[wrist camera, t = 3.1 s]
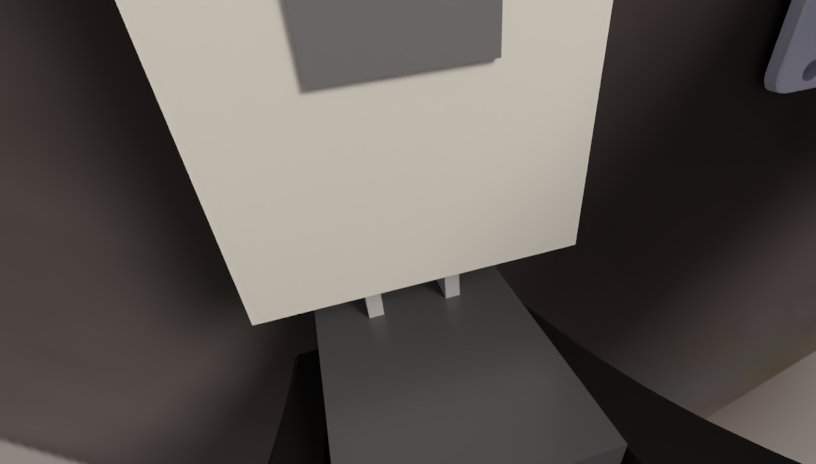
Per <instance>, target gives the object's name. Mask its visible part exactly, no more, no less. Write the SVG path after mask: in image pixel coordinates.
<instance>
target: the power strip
mask: <svg viewBox="0 0 816 464" xmlns="http://www.w3.org/2000/svg"><path fill="white" fill-rule="evenodd" d="M115 2H116V4H117V7H118V9H119V11H120V14H121V16H122V18H123V21H124V23H125V25H126V28H127V30H128V33H129V35H130V37H131V40H132V42H133V44H134V47H135V49H136V51H137V54H138V56H139V59H140V61H141V63H142V66H143V68H144V70H145V73H146V75H147V77H148V80H149V82H150V85H151V87H152V89H153V92H154V94H155V96H156V99H157V101H158V103H159V106H160V108H161V111H162V113H163V115H164V118H165V120H166V122H167V125H168V127H169V129H170V132H171V134H172V137H173V139H174V141H175V144H176V146H177V148H178V151H179V153H180V155H181V158H182V160H183V163H184V165H185V167H186V170H187V172H188V174H189V177H190V179H191V181H192V184H193V186H194V189H195V191H196V193H197V196H198V198H199V200H200V203H201V205H202V207H203V210H204V212H205V215H206V217H207V219H208V222H209V224H210V226H211V229H212V231H213V233H214V236H215V238H216V241H217V243H218V245H219V248H220V250H221V252H222V255H223V257H224V259H225V262H226V264H227V267H228V269H229V271H230V274H231V276H232V278H233V281H234V283H235V285H236V288H237V290H238V293H239V295H240V297H241V300H242V302H243V304H244V307H245V309H246V312H247V314H248V316H249V319H250V321H251V323H252V326H253V325H257V324H261V323H265V322H269V321H273V320H277V319H281V318H285V317H289V316H293V315H297V314H301V313H305V312H309V311H313V310H317V309H321V308H325V307H329V306H333V305H337V304H341V303H345V302H349V301H353V300H357V299H361V298H365V297H369V296H373V295H377V294H381V293H385V292H389V291H393V290H397V289H401V288H405V287H409V286H412V285H416V284H420V283H424V282H428V281H432V280H436V279H440V278H444V277H448V276H452V275H456V274H460V273H464V272H468V271H472V270H476V269H480V268H484V267H488V266H492V265H496V264H500V263H504V262H508V261H512V260H516V259H520V258H524V257H528V256H532V255H536V254H540V253H544V252H548V251H552V250H556V249H560V248H564V247H568V246H572V245H575V244H576V237H577V231H578V224H579V218H580V211H581V205H582V198H583V192H584V186H585V179H586V173H587V166H588V160H589V153H590V147H591V140H592V134H593V127H594V121H595V114H596V108H597V101H598V95H599V88H600V82H601V76H602V69H603V63H604V56H605V50H606V43H607V37H608V30H609V24H610V17H611V11H612V4H613V0H115Z"/></svg>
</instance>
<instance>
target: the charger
mask: <svg viewBox="0 0 816 464" xmlns="http://www.w3.org/2000/svg"><path fill="white" fill-rule="evenodd" d="M314 311H315V321H316V330H317V339H318V348H319V357H320V366H321V376H322V385H323V394H324V403H325V412H326V421H327V431H328V440H329V449H330V458H331V464H621V461H622V459H623V456H624V453H625V450H626V447H627V443H626V441H625V440H624V439H623V437H622V436H621V435H620V433H619V432H618V431H617V429H616V428H615V427H614V425H613V424H612V423H611V421H610V420H609V419H608V417H607V416H606V415H605V413H604V412H603V411H602V409H601V408H600V407H599V405H598V404H597V403H596V401H595V400H594V399H593V397H592V396H591V395H590V393H589V392H588V391H587V389H586V388H585V387H584V385H583V384H582V383H581V381H580V380H579V379H578V377H577V376H576V375H575V373H574V372H573V371H572V369H571V368H570V367H569V365H568V364H567V363H566V361H565V360H564V359H563V357H562V356H561V355H560V353H559V352H558V350H557V349H556V348H555V346H554V345H553V344H552V342H551V341H550V340H549V338H548V337H547V336H546V334H545V333H544V332H543V330H542V329H541V328H540V326H539V325H538V324H537V322H536V321H535V320H534V318H533V317H532V316H531V314H530V313H529V312H528V310H527V309H526V308H525V306H524V305H523V304H522V302H521V301H520V300H519V298H518V297H517V296H516V294H515V293H514V292H513V290H512V289H511V288H510V286H509V285H508V284H507V282H506V281H505V280H504V278H503V277H502V276H501V274H500V273H499V272H498V270H497V269H496V268H495V266H494V265H492V266H488V267H484V268H480V269H476V270H472V271H468V272H464V273H460V274H456V275H452V276H448V277H444V278H440V279H436V280H432V281H428V282H424V283H420V284H416V285H412V286H409V287H405V288H401V289H397V290H393V291H389V292H385V293H381V294H377V295H373V296H369V297H365V298H361V299H357V300H353V301H349V302H345V303H341V304H337V305H333V306H329V307H325V308H321V309H317V310H314Z"/></svg>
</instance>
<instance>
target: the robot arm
mask: <svg viewBox="0 0 816 464" xmlns="http://www.w3.org/2000/svg"><path fill="white" fill-rule="evenodd" d="M764 85H765V88H766V89H767V90H768V91H773V92H777V93H784V94H786V93H791V92H796V91H801V90H806V89H811V88H816V0H791V3H790V6H789V9H788V11H787V14H786V17H785V20H784V22H783V25H782V28H781V31H780V33H779V36H778V39H777V42H776V45H775V47H774V50H773V53H772V56H771V58H770V61H769V64H768V67H767V69H766V72H765V76H764ZM522 304H523V303H522ZM523 305H524V306H525V308H526V309H527V310H528V312H529V313H530V314H531V316H532V317H533V318H534V320H535V321H536V322H537V324H538V325H539V326H540V328H541V329H542V330H543V332H544V333H545V334H546V336H547V337H548V338H549V340H550V341H551V342H552V344H553V345H554V346H555V348H556V349H557V350H558V352H559V353H560V355H561V356H562V357H563V359H564V360H565V361H566V363H567V364H568V365H569V367H570V368H571V369H572V371H573V372H574V373H575V375H576V376H577V377H578V379H579V380H580V381H581V383H582V384H583V385H584V387H585V388H586V389H587V391H588V392H589V393H590V395H591V396H592V397H593V399H594V400H595V401H596V403H597V404H598V405H599V407H600V408H601V409H602V411H603V412H604V413H605V415H606V416H607V417H608V419H609V420H610V421H611V423H612V424H613V425H614V427H615V428H616V429H617V431H618V432H619V433H620V435H621V436H622V437H623V439H624V440H625V441H626V443H627V447H626V450H625V453H624V456H623V459H622V461H621V464H801V463H799V462H796V461H794V460H792V459H789V458H787V457H784V456H782V455H780V454H777V453H775V452H773V451H771V450H769V449H766V448H764V447H762V446H760V445H758V444H756V443H753V442H751V441H749V440H747V439H745V438H743V437H741V436H739V435H737V434H735V433H732V432H730V431H728V430H726V429H724V428H722V427H720V426H717V425H715V424H713V423H711V422H709V421H707V420H705V419H703V418H701V417H699V416H697V415H695V414H694V413H692V412H690V411H688V410H686V409H684V408H682V407H680V406H679V405H677V404H675V403H673V402H671V401H669V400H668V399H666V398H664V397H662V396H660V395H658V394H657V393H655V392H653V391H652V390H650V389H648V388H646V387H645V386H643V385H641V384H640V383H638V382H636V381H635V380H633V379H631V378H630V377H628V376H627V375H625V374H623V373H622V372H620V371H619V370H617V369H615V368H614V367H612V366H611V365H609V364H608V363H606V362H605V361H603V360H602V359H600V358H598V357H597V356H595V355H594V354H593V353H591V352H590V351H588V350H587V349H585V348H584V347H582V346H581V345H579V344H578V343H577V342H575V341H574V340H572V339H571V338H569V337H568V336H567V335H565V334H564V333H562V332H561V331H560V330H558V329H557V328H556V327H554V326H553V325H551V324H550V323H549V322H547V321H546V320H545V319H543V318H542V317H541V316H539V315H538V314H537V313H535V312H534V311H533V310H531V309H530V308H529V307H527V306H526V305H525V304H523ZM268 464H331V458H330V449H329V440H328V431H327V421H326V412H325V403H324V394H323V385H322V376H321V366H320V357H319V349H317V350H314V351H310V352H306V353H303V354H299V355H298V356H297V357H296V359H295V363H294V369H293V374H292V380H291V384H290V389H289V393H288V397H287V401H286V405H285V409H284V413H283V416H282V420H281V423H280V426H279V430H278V433H277V437H276V440H275V443H274V447H273V450H272V453H271V456H270V459H269V462H268Z"/></svg>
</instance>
